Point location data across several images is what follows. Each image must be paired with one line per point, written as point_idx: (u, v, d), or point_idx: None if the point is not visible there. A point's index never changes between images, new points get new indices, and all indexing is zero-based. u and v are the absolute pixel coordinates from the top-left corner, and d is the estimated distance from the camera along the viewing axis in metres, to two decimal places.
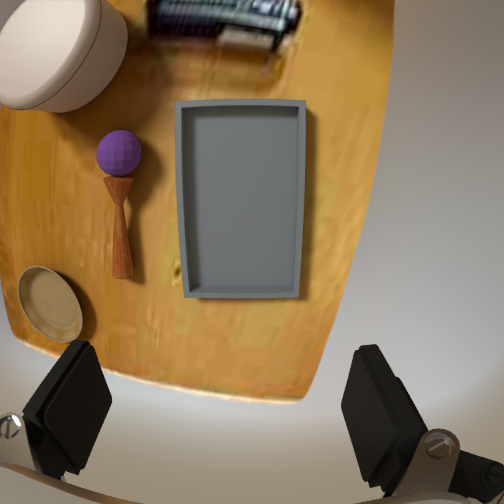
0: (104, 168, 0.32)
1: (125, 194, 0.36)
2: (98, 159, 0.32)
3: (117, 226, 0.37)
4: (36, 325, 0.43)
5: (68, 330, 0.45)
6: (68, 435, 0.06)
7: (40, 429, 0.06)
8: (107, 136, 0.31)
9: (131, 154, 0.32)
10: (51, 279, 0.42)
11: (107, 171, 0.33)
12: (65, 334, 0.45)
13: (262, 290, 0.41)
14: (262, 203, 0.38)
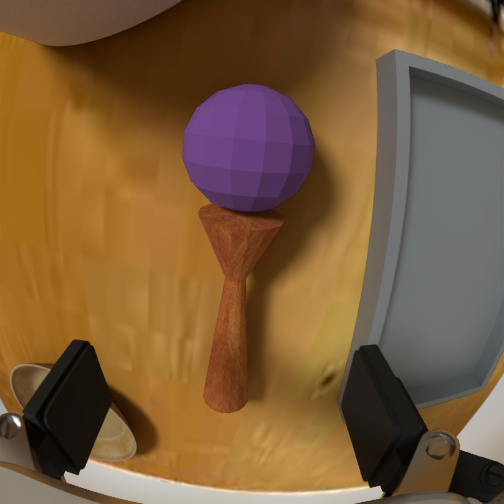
0: (218, 191, 0.12)
1: (259, 257, 0.15)
2: (197, 162, 0.11)
3: (231, 327, 0.17)
4: None
5: (106, 443, 0.25)
6: (68, 435, 0.06)
7: (40, 429, 0.06)
8: (228, 95, 0.11)
9: (307, 158, 0.12)
10: None
11: (225, 200, 0.12)
12: (101, 447, 0.25)
13: (448, 390, 0.21)
14: (484, 268, 0.18)
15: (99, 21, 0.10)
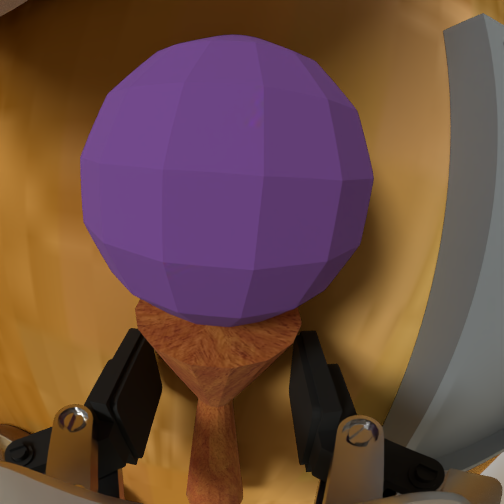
0: (150, 299, 0.05)
1: None
2: (95, 231, 0.04)
3: (213, 452, 0.09)
4: None
5: None
6: (132, 423, 0.07)
7: (108, 418, 0.07)
8: (167, 55, 0.04)
9: (366, 212, 0.05)
10: None
11: (171, 312, 0.05)
12: None
13: (481, 453, 0.14)
14: None
15: None
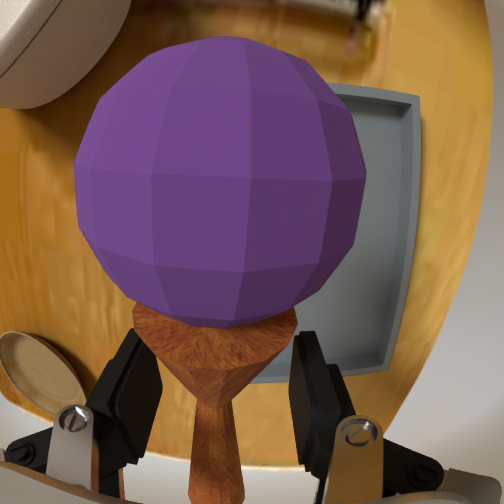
0: (144, 302, 0.05)
1: None
2: (89, 235, 0.04)
3: (213, 453, 0.09)
4: (28, 397, 0.30)
5: None
6: (133, 423, 0.07)
7: (108, 418, 0.07)
8: (156, 59, 0.04)
9: (359, 212, 0.05)
10: (38, 346, 0.29)
11: (166, 314, 0.05)
12: None
13: (342, 366, 0.27)
14: (352, 248, 0.25)
15: (37, 98, 0.17)
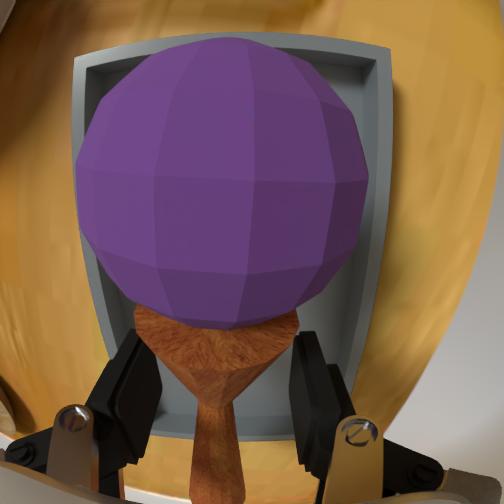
0: (146, 304, 0.05)
1: None
2: (91, 237, 0.04)
3: (214, 454, 0.09)
4: None
5: (6, 419, 0.24)
6: (133, 423, 0.07)
7: (108, 418, 0.07)
8: (158, 60, 0.04)
9: (361, 214, 0.05)
10: None
11: (168, 316, 0.05)
12: (3, 422, 0.24)
13: (274, 428, 0.20)
14: None
15: None
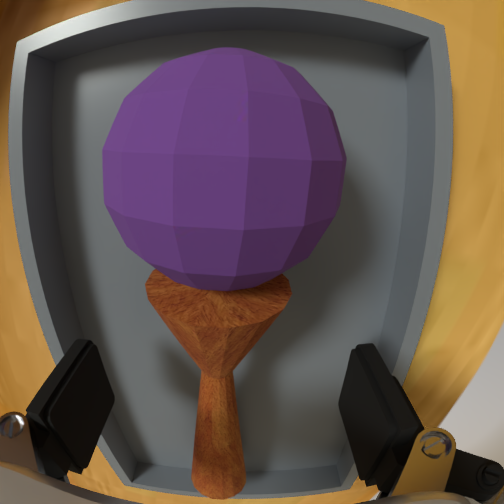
0: (160, 264, 0.06)
1: None
2: (116, 208, 0.05)
3: (216, 427, 0.10)
4: None
5: None
6: (71, 434, 0.06)
7: (44, 428, 0.06)
8: (172, 67, 0.05)
9: (338, 189, 0.06)
10: None
11: (178, 277, 0.06)
12: None
13: (279, 485, 0.15)
14: (291, 341, 0.13)
15: None
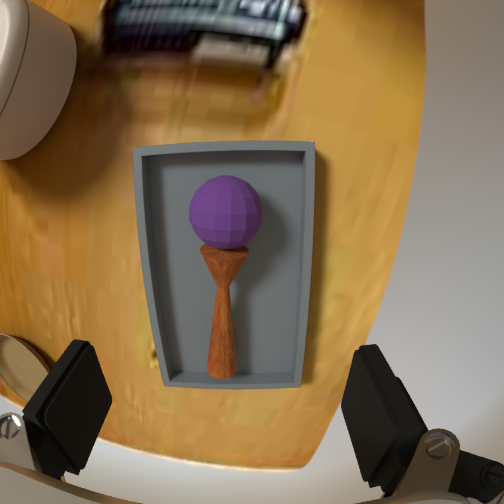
0: (209, 240, 0.23)
1: (236, 273, 0.26)
2: (198, 225, 0.23)
3: (222, 316, 0.27)
4: (12, 388, 0.34)
5: None
6: (68, 435, 0.06)
7: (40, 429, 0.06)
8: (212, 188, 0.22)
9: (256, 219, 0.23)
10: (21, 346, 0.33)
11: (213, 244, 0.23)
12: None
13: (256, 379, 0.32)
14: (255, 281, 0.30)
15: (9, 156, 0.22)
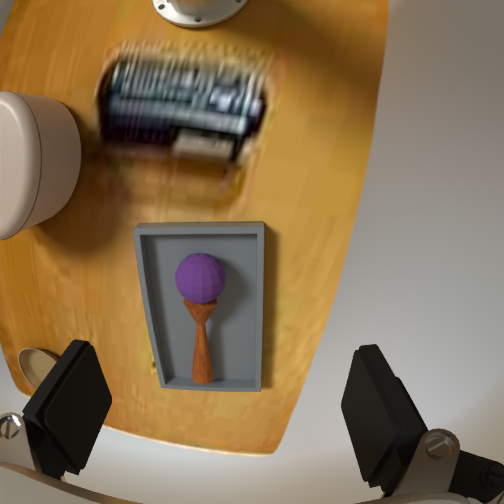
0: (188, 299, 0.34)
1: (209, 316, 0.37)
2: (180, 290, 0.33)
3: (200, 343, 0.38)
4: None
5: None
6: (68, 435, 0.06)
7: (40, 429, 0.06)
8: (189, 266, 0.33)
9: (219, 286, 0.34)
10: (47, 356, 0.44)
11: (191, 301, 0.34)
12: None
13: (228, 384, 0.43)
14: (224, 317, 0.41)
15: None
